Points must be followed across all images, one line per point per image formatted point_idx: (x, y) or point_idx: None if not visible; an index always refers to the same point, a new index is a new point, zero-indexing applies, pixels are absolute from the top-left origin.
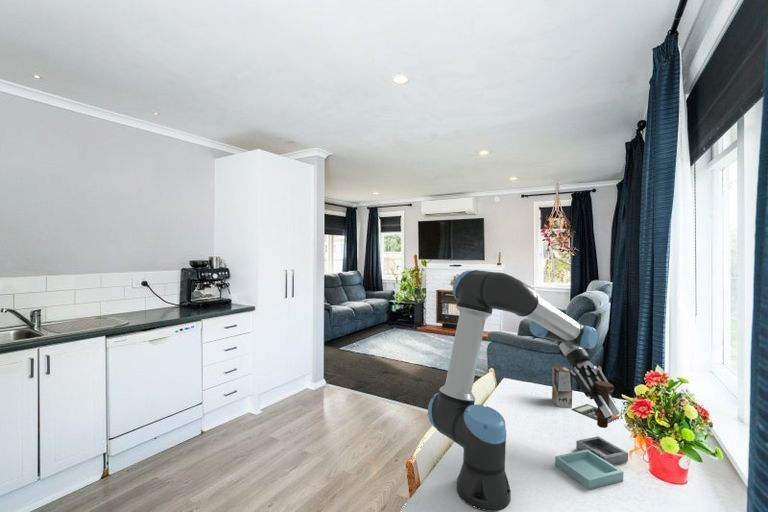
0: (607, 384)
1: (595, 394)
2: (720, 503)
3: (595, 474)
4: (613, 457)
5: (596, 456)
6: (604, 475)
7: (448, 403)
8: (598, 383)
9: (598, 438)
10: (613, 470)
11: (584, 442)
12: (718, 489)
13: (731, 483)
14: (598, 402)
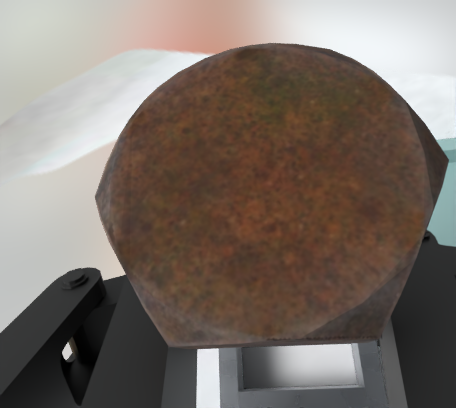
0: (224, 122)
1: (428, 234)
2: (163, 56)
3: (441, 200)
4: None
5: None
6: (451, 142)
7: None
8: (390, 191)
9: (239, 392)
10: None
11: (343, 388)
12: (101, 95)
13: (38, 108)
14: None
